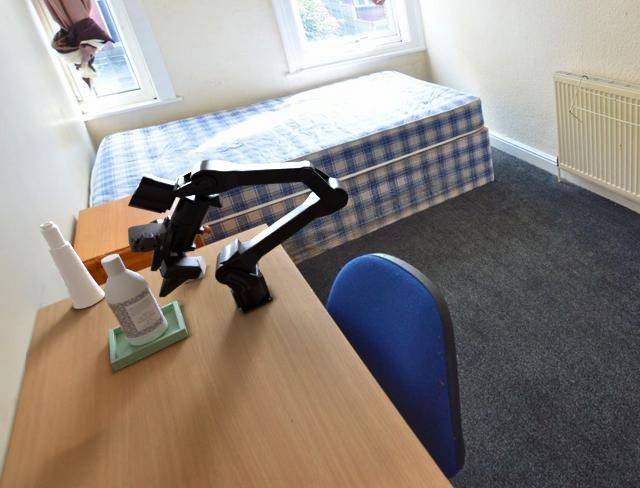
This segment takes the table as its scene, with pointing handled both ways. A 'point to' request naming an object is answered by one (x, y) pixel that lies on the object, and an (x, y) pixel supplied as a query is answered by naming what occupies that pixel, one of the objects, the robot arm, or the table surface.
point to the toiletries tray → (127, 353)
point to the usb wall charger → (203, 266)
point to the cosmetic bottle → (71, 269)
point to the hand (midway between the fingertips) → (157, 283)
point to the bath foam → (132, 303)
